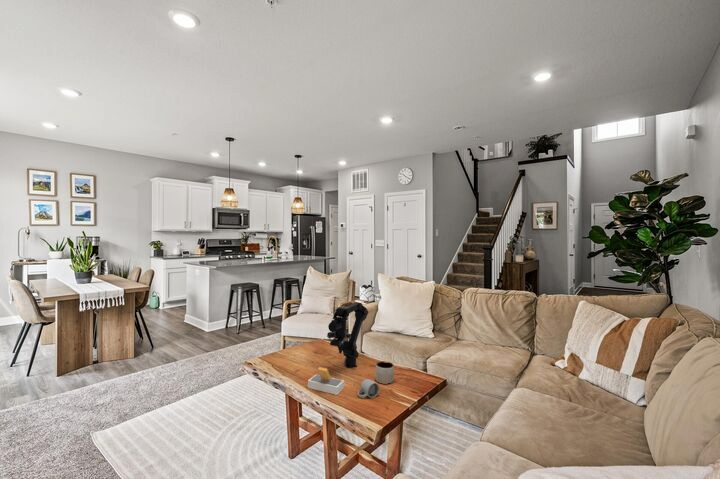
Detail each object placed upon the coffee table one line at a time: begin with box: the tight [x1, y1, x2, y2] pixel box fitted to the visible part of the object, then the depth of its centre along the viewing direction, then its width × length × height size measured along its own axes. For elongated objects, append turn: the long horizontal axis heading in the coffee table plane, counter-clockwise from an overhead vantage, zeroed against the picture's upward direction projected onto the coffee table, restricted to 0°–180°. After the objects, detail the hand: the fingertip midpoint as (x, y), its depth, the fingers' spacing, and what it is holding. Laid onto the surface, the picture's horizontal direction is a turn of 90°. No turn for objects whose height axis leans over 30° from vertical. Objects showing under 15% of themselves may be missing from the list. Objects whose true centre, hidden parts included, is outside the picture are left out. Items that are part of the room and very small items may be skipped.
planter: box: [374, 360, 395, 385], centre depth 195 cm, size 11×11×10 cm
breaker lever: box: [317, 366, 332, 381], centre depth 181 cm, size 2×5×8 cm
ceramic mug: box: [357, 378, 380, 399], centre depth 177 cm, size 11×8×8 cm
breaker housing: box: [307, 374, 345, 396], centre depth 183 cm, size 9×18×4 cm, turn 68°
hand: (340, 353), depth 204 cm, fingers closed
